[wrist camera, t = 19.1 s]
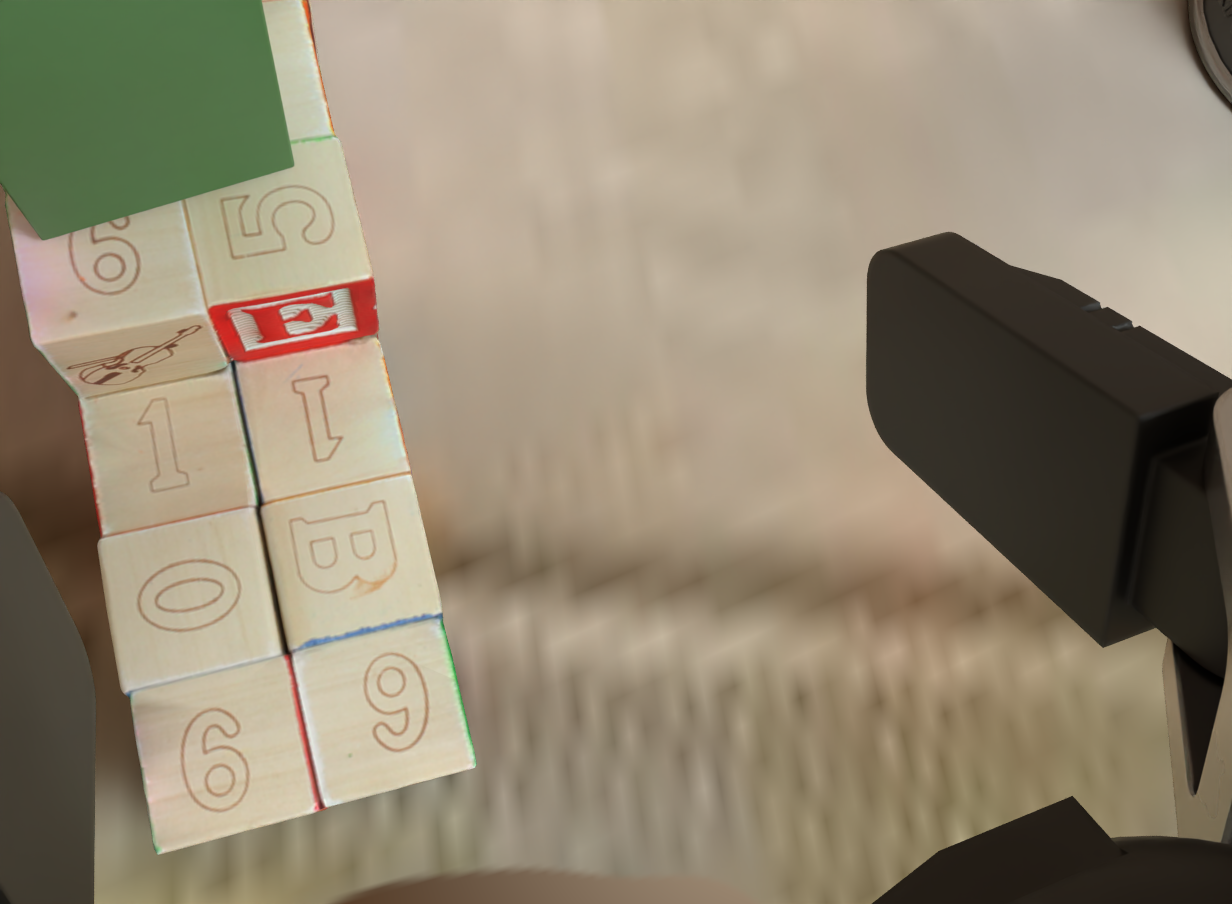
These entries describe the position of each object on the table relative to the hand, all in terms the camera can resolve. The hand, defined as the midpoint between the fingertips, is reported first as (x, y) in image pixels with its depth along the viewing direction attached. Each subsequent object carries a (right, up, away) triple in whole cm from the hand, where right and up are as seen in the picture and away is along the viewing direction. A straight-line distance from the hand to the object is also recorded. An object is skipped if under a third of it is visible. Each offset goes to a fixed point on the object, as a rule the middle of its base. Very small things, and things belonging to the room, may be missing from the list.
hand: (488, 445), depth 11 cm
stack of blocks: (-9, +1, +22) cm, 24 cm away
